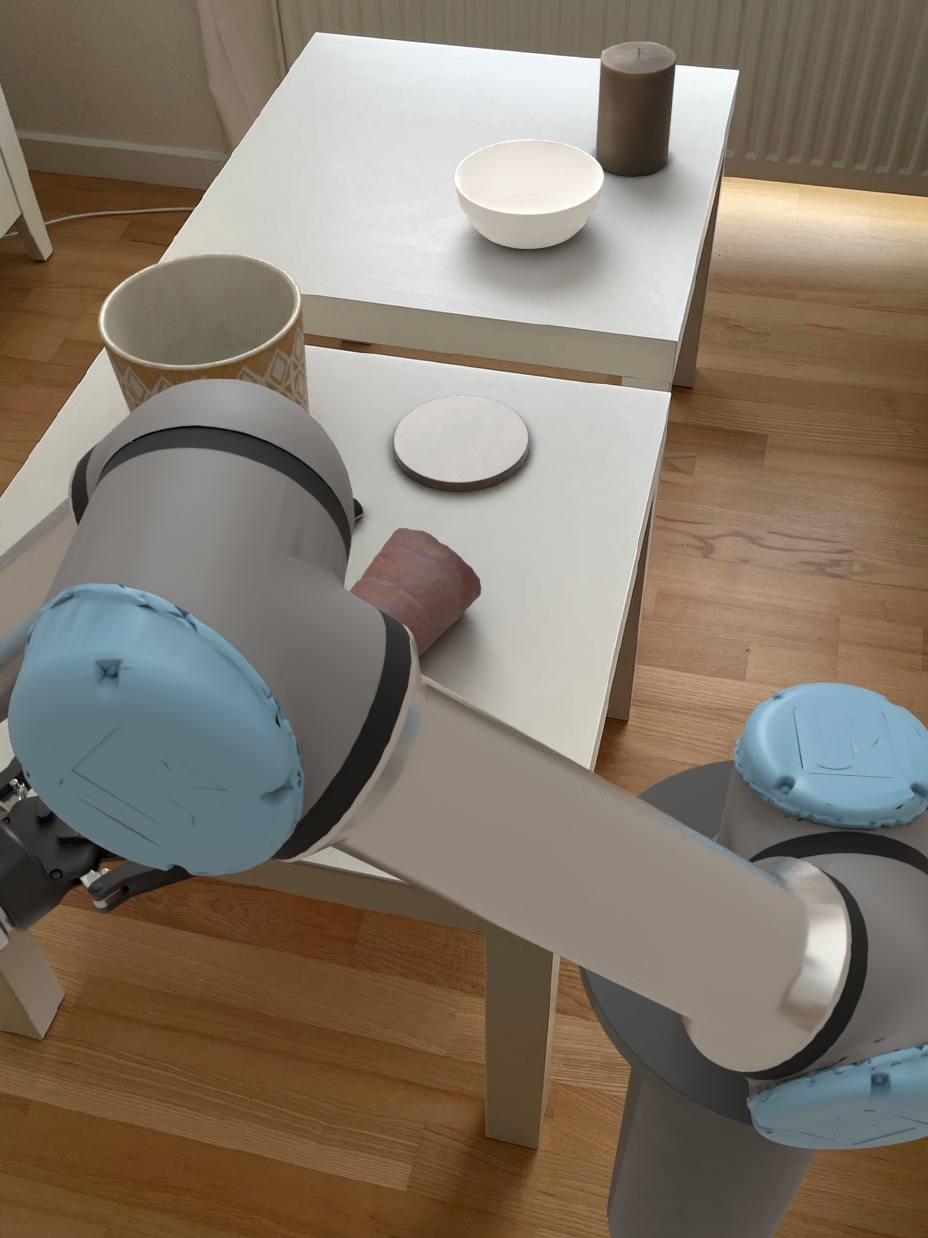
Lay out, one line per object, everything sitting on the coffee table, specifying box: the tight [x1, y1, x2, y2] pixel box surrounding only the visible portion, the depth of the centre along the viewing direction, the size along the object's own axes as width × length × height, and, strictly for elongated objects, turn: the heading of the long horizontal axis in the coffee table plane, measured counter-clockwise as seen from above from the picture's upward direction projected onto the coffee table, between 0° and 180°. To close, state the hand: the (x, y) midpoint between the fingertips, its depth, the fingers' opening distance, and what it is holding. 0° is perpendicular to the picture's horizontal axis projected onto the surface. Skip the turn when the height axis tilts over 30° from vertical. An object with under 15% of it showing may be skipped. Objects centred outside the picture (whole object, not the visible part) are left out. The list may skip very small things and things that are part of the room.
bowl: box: [453, 139, 605, 250], centre depth 154 cm, size 18×18×7 cm
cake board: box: [392, 395, 530, 492], centre depth 129 cm, size 14×14×1 cm
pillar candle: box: [595, 41, 677, 177], centre depth 163 cm, size 10×10×15 cm
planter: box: [97, 252, 310, 415], centre depth 125 cm, size 19×19×16 cm
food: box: [349, 527, 482, 657], centre depth 106 cm, size 21×9×9 cm, turn 150°
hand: (223, 711), depth 95 cm, fingers open, 13 cm apart
